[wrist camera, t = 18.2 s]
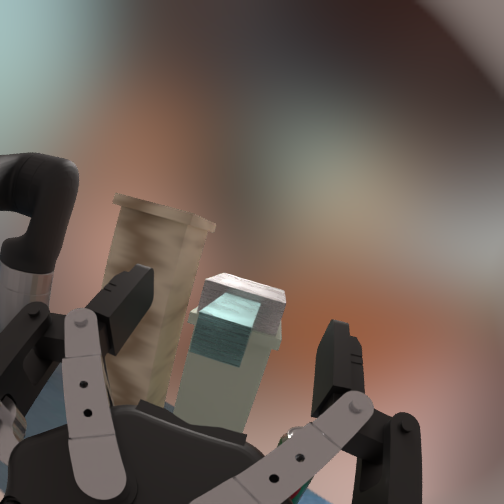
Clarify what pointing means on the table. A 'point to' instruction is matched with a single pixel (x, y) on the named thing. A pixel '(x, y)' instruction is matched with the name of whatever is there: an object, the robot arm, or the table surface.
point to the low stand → (223, 384)
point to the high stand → (165, 293)
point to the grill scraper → (234, 316)
